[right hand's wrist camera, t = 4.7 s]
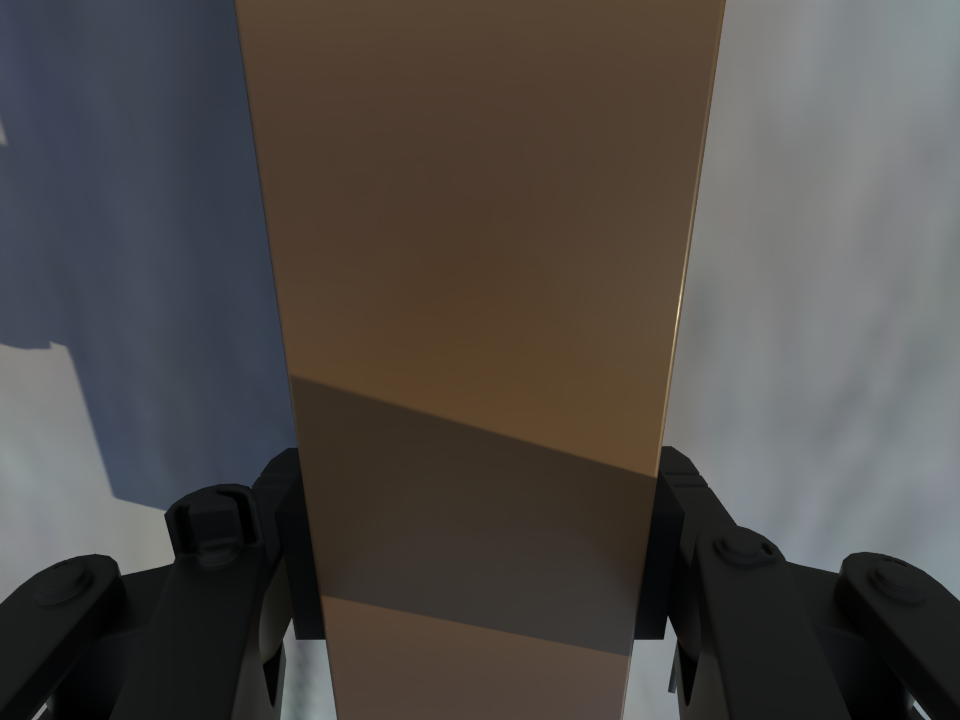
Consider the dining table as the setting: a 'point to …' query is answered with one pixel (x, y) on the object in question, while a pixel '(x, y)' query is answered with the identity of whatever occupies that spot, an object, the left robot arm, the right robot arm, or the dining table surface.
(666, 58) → the bar
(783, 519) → the dining table surface
